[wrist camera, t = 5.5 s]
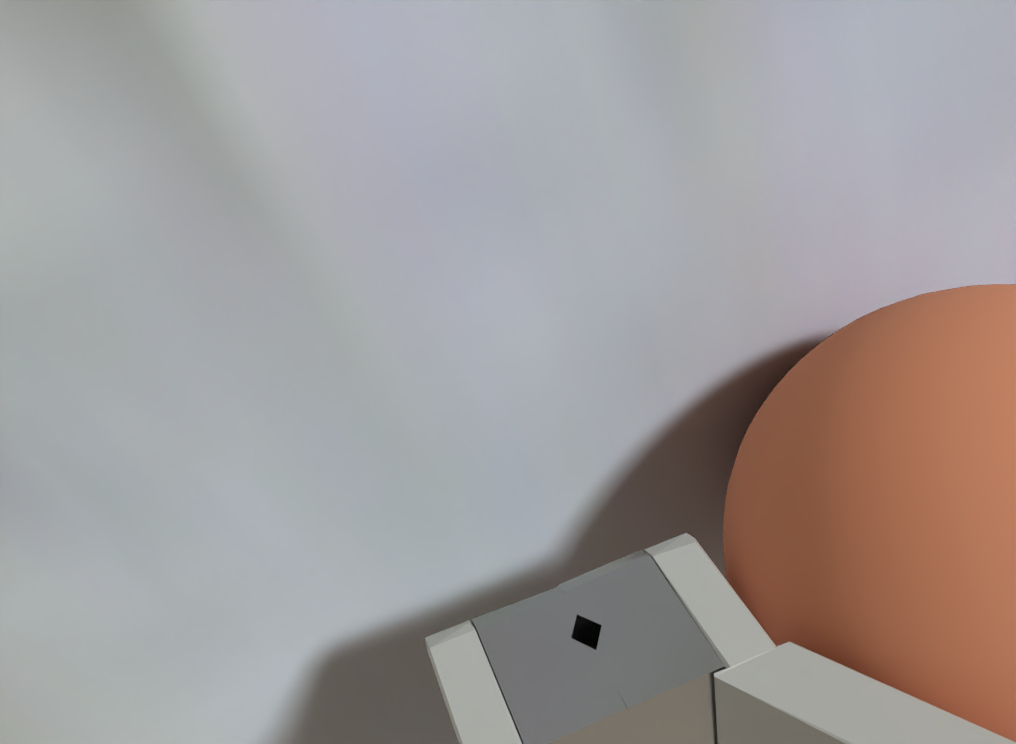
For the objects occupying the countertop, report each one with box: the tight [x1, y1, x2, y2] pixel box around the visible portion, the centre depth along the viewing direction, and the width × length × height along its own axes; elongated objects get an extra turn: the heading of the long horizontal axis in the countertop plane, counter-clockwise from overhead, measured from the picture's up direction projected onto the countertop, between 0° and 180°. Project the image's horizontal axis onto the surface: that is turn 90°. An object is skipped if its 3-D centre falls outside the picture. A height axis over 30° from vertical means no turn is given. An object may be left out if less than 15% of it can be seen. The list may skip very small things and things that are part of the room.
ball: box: [723, 284, 1016, 742], centre depth 9 cm, size 6×6×6 cm
